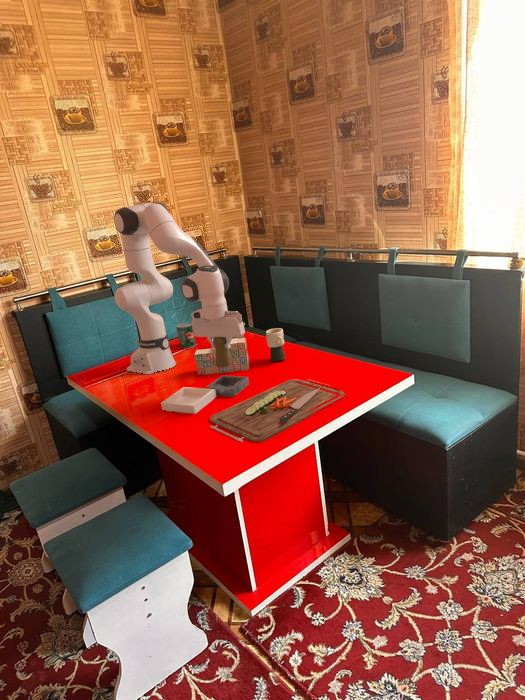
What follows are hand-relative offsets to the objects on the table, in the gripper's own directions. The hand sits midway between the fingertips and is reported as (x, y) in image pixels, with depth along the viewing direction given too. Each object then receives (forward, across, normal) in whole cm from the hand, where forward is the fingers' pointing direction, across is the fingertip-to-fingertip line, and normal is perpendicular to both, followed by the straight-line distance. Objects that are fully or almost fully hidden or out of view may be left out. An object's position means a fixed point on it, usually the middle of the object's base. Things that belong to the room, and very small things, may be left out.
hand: (221, 347), depth 185 cm
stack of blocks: (+17, +13, -18) cm, 28 cm away
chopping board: (+17, -26, +11) cm, 33 cm away
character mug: (+17, -6, -32) cm, 37 cm away
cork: (+6, 0, 0) cm, 7 cm away
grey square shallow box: (+16, 0, 0) cm, 16 cm away
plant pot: (+17, +22, -45) cm, 53 cm away
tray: (+16, +8, +14) cm, 23 cm away
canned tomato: (+17, +50, -46) cm, 70 cm away
